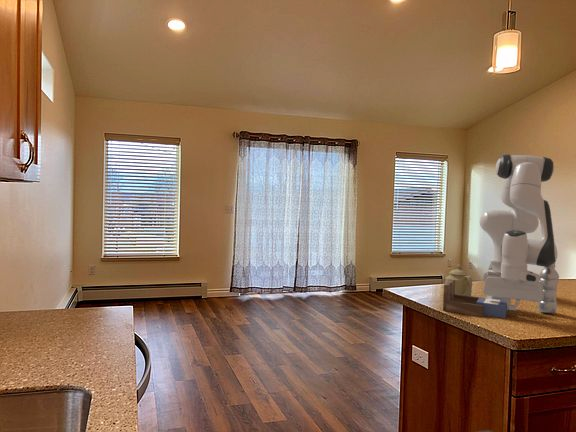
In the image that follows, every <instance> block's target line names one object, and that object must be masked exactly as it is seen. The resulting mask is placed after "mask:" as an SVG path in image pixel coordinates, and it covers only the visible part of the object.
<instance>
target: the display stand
mask: <svg viewBox="0 0 576 432" xmlns="http://www.w3.org/2000/svg"><path fill="white" fill-rule="evenodd" d="M445 283H446V282H445ZM442 298H443V301H442V311H444V312H449V313H456V314H457V313H458V314H461V315H462V314H463V315H469V316H470V315H471V316H476V317H477V316H478V317H483V316H484V315H483V305H477V304H476V302H477V300H478V299H479V298H482V297H481V296H480V297H479V296H472V295H471V296H466V295H458V294H455V280H451V281H449V282H448V283H446V284H444V285H443V297H442ZM486 298H487V297H486ZM487 299H488V298H487Z"/></svg>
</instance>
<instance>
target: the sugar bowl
mask: <svg viewBox="0 0 576 432" xmlns="http://www.w3.org/2000/svg"><path fill="white" fill-rule="evenodd" d="M461 268H462V265H461V264H460V263H458V264H457V265H456V269H452V270H451V271H449V272H448V273H449V275H447V276H445V284H446V283H448V282H449V281H451V280H455V294H458V295H466V296H472V291H473V290H472V289H473V288H472V287H473V278H472V277H471V275H469V274H470V273H468V272H467V271H466V270H463V269H461ZM445 284H444V285H445Z"/></svg>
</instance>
